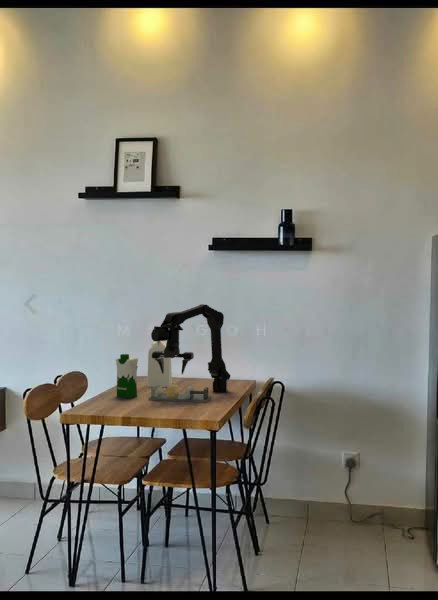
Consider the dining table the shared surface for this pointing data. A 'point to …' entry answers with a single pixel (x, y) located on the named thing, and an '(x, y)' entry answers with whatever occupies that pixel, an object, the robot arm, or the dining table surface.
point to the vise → (158, 395)
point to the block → (172, 391)
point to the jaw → (195, 392)
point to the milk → (158, 367)
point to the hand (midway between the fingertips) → (172, 373)
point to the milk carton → (126, 376)
